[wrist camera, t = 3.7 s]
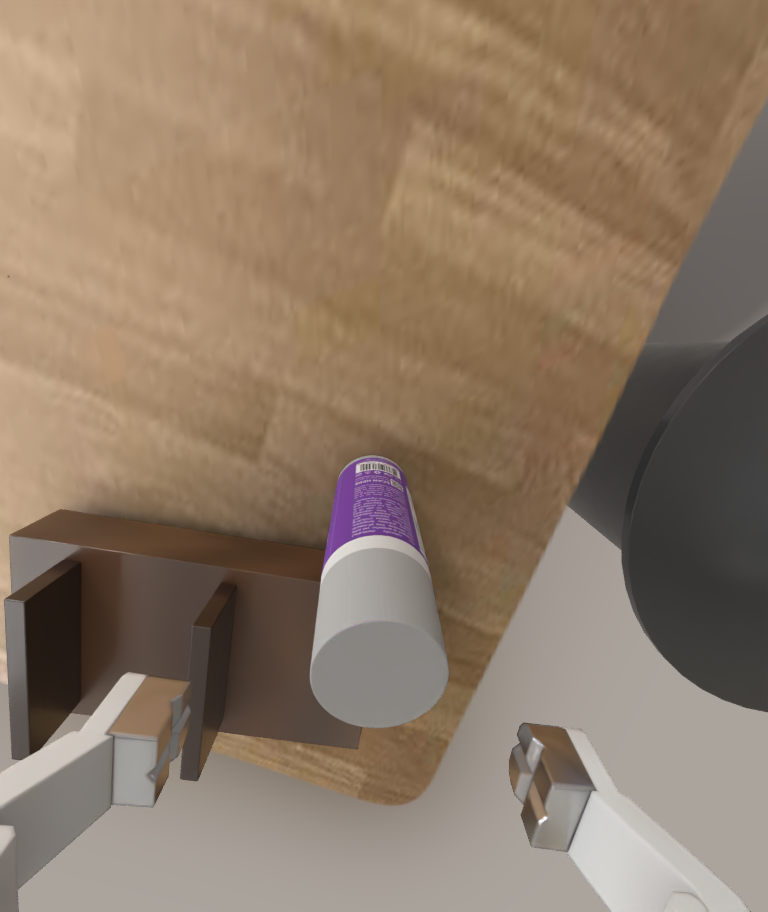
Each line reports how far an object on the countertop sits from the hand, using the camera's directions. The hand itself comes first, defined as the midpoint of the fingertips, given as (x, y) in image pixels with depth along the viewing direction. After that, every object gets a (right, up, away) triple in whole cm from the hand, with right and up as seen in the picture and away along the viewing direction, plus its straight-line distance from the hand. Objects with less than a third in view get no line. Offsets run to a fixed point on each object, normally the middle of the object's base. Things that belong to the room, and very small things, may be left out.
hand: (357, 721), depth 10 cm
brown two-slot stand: (-11, -5, +19) cm, 23 cm away
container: (0, +4, +17) cm, 18 cm away
